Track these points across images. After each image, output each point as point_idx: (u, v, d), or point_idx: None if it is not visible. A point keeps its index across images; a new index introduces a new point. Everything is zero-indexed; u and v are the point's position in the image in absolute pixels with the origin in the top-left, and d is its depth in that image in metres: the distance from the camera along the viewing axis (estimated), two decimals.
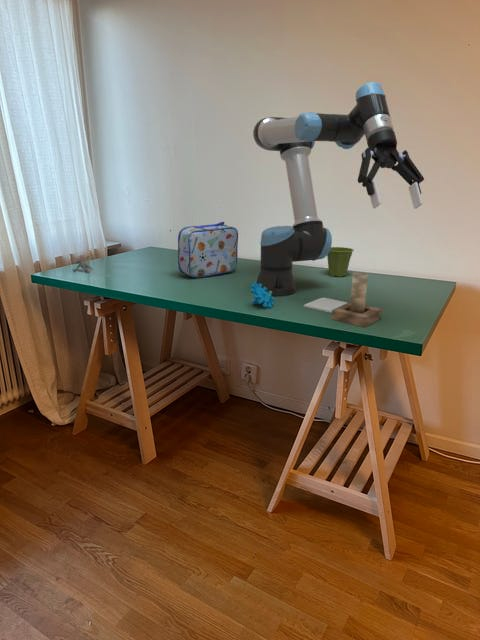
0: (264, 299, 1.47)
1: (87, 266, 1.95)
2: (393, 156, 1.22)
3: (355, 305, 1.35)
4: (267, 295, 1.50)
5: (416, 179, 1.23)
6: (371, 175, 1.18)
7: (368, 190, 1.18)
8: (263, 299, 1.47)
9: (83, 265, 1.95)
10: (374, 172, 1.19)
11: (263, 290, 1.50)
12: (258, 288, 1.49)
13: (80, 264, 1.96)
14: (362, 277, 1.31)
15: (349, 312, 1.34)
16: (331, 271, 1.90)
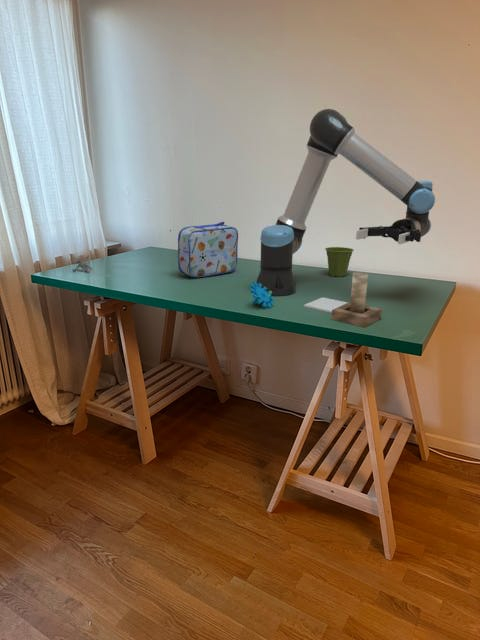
0: (263, 299, 1.47)
1: (87, 266, 1.95)
2: (392, 236, 1.48)
3: (355, 305, 1.35)
4: (267, 295, 1.50)
5: None
6: None
7: (410, 238, 1.35)
8: (262, 299, 1.47)
9: (83, 265, 1.95)
10: None
11: (263, 290, 1.50)
12: (258, 288, 1.49)
13: (80, 264, 1.96)
14: (362, 277, 1.31)
15: (349, 312, 1.34)
16: (331, 271, 1.90)
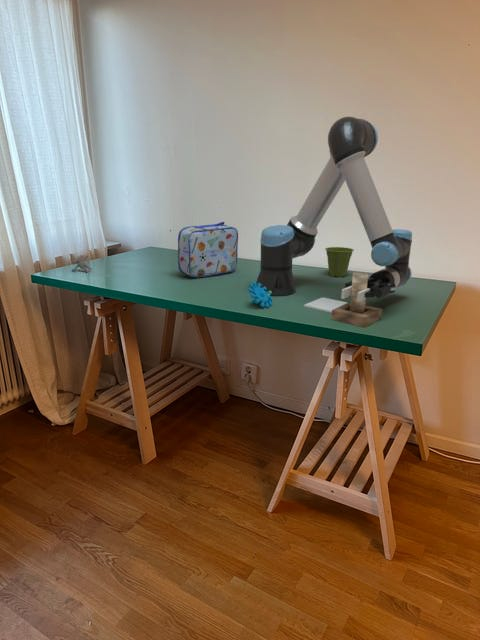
0: (262, 299, 1.48)
1: (86, 266, 1.95)
2: None
3: (355, 305, 1.35)
4: (266, 295, 1.51)
5: None
6: None
7: (370, 295, 1.32)
8: (261, 299, 1.47)
9: (82, 265, 1.95)
10: None
11: (262, 290, 1.51)
12: (257, 287, 1.50)
13: (79, 264, 1.95)
14: (362, 277, 1.31)
15: (349, 312, 1.34)
16: (331, 271, 1.90)
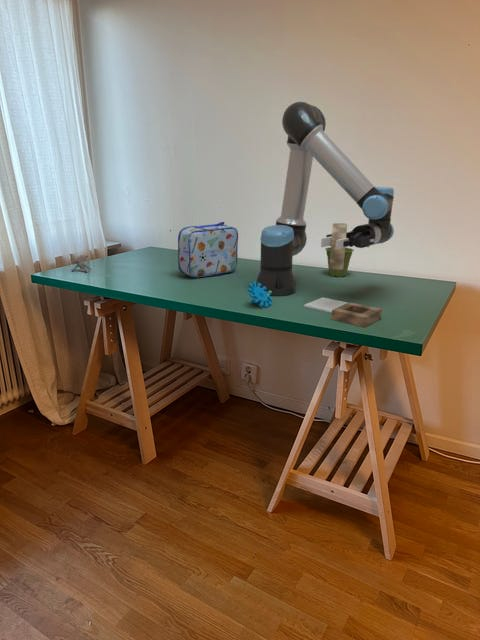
0: (261, 298, 1.48)
1: (85, 266, 1.95)
2: None
3: (334, 254, 1.40)
4: (265, 295, 1.51)
5: None
6: (352, 245, 1.41)
7: (348, 243, 1.38)
8: (260, 298, 1.48)
9: (81, 265, 1.95)
10: None
11: (261, 289, 1.51)
12: (256, 287, 1.50)
13: (78, 264, 1.95)
14: (341, 226, 1.37)
15: (349, 312, 1.34)
16: (331, 271, 1.90)
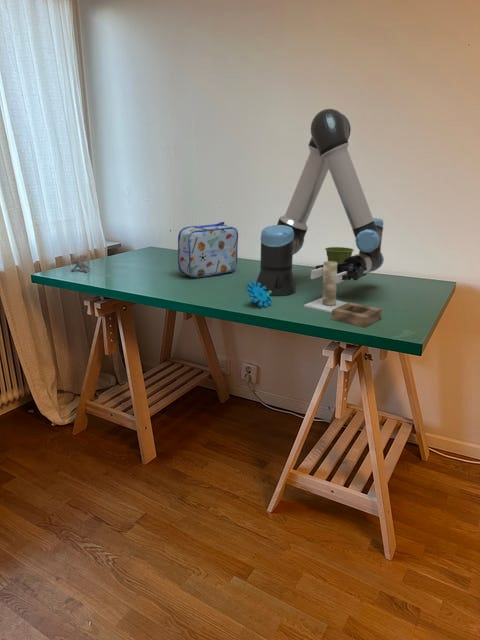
0: (260, 298, 1.48)
1: (85, 266, 1.95)
2: None
3: (326, 291, 1.47)
4: (265, 294, 1.51)
5: None
6: None
7: (347, 277, 1.43)
8: (259, 298, 1.48)
9: (81, 265, 1.95)
10: None
11: (261, 289, 1.51)
12: (256, 287, 1.50)
13: (78, 264, 1.95)
14: (331, 265, 1.44)
15: (349, 312, 1.34)
16: None
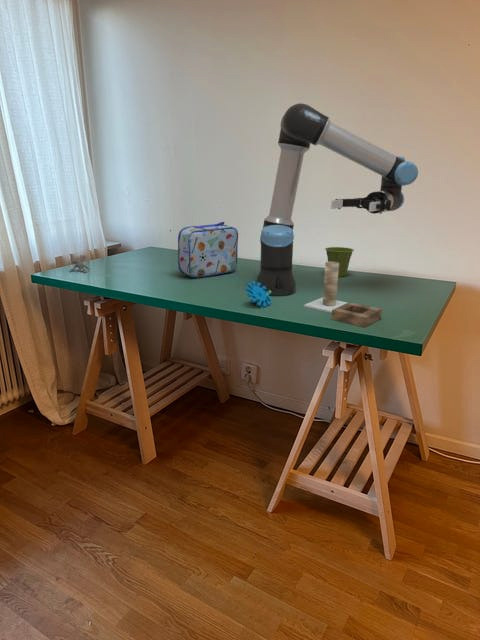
0: (259, 298, 1.49)
1: (84, 266, 1.95)
2: (366, 207, 1.58)
3: (327, 292, 1.47)
4: (264, 294, 1.51)
5: None
6: None
7: (380, 206, 1.45)
8: (258, 298, 1.48)
9: (80, 265, 1.95)
10: None
11: (261, 289, 1.51)
12: (255, 287, 1.50)
13: (77, 264, 1.95)
14: (333, 266, 1.43)
15: (349, 312, 1.34)
16: None
